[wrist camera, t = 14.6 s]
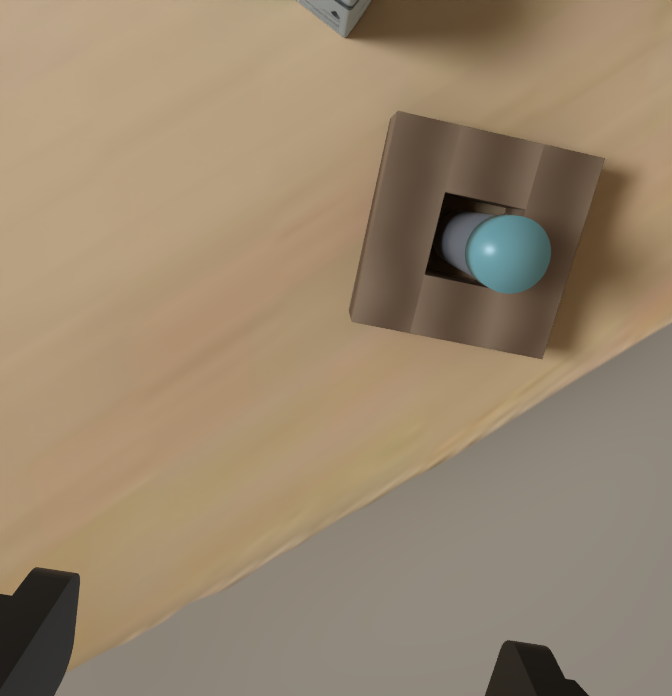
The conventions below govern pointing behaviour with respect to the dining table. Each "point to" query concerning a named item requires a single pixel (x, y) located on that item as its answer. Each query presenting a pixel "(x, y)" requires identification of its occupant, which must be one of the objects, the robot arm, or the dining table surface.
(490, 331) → the socket
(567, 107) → the dining table surface
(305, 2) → the ink box
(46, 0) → the dining table surface
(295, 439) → the dining table surface
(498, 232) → the peg
